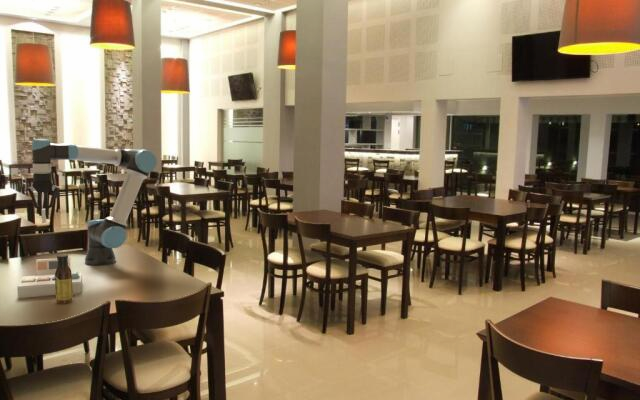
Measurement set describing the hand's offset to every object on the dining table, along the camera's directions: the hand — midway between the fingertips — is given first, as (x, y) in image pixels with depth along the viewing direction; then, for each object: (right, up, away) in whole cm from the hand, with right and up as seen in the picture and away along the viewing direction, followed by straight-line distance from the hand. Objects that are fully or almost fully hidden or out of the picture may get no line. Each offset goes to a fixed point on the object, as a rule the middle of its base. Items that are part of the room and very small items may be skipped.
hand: (44, 222), depth 245 cm
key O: (+15, -27, -15) cm, 35 cm away
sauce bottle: (+25, -31, -31) cm, 51 cm away
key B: (+9, -28, -17) cm, 34 cm away
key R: (+20, -26, -13) cm, 35 cm away
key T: (+4, -28, -20) cm, 34 cm away
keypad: (+12, -29, -16) cm, 35 cm away
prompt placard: (+7, -27, -4) cm, 29 cm away
